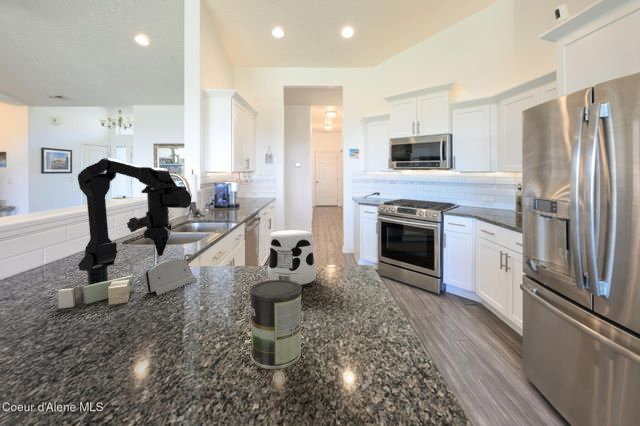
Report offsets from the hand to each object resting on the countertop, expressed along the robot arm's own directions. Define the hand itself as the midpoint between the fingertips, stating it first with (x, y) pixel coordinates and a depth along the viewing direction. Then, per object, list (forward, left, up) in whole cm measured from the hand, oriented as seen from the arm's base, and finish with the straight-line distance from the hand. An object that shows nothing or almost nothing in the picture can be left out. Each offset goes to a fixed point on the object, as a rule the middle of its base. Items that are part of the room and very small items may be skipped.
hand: (160, 255), depth 95 cm
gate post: (+3, -21, -12) cm, 24 cm away
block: (+2, -11, -12) cm, 17 cm away
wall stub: (+3, -24, -12) cm, 27 cm away
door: (-1, -14, -12) cm, 18 cm away
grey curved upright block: (-5, +2, -12) cm, 14 cm away
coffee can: (+50, +25, -12) cm, 57 cm away
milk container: (+8, +42, -12) cm, 45 cm away
